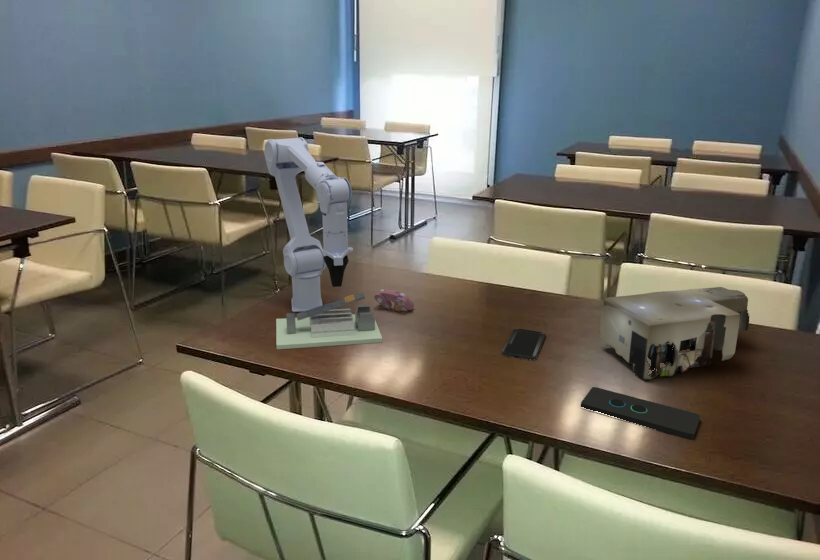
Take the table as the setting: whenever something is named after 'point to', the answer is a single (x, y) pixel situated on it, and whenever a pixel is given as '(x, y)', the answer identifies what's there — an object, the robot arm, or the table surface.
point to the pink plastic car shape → (393, 299)
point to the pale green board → (306, 340)
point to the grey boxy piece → (673, 328)
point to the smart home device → (642, 412)
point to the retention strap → (330, 306)
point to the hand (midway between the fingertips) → (336, 285)
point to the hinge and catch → (362, 320)
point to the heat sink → (332, 323)
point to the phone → (524, 344)
